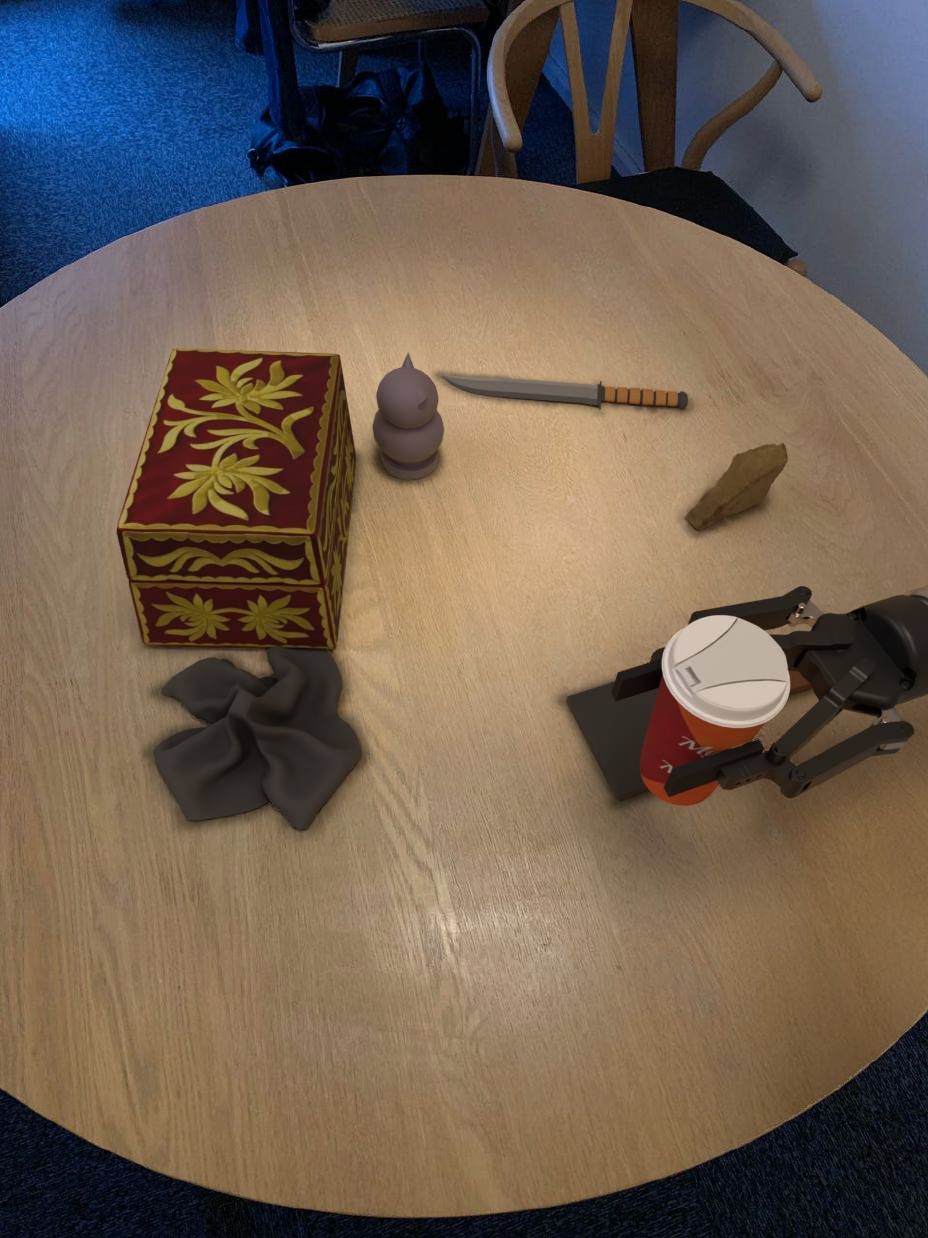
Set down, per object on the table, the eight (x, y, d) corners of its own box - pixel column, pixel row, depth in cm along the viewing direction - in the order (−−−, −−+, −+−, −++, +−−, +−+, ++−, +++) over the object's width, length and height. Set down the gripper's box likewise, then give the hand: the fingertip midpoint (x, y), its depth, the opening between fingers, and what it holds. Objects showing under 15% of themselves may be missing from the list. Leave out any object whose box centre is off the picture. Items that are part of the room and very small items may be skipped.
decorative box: (337, 650, 90) (325, 545, 78) (142, 646, 89) (100, 539, 77) (357, 455, 107) (349, 345, 95) (193, 450, 106) (165, 338, 94)
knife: (438, 392, 113) (442, 365, 116) (438, 400, 114) (442, 373, 117) (689, 411, 112) (688, 383, 114) (687, 419, 113) (685, 391, 116)
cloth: (362, 829, 80) (358, 797, 75) (139, 840, 78) (120, 807, 73) (361, 620, 93) (358, 581, 88) (171, 625, 91) (157, 586, 87)
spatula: (860, 716, 88) (865, 709, 88) (617, 801, 82) (620, 794, 81) (796, 628, 94) (800, 620, 94) (565, 700, 88) (567, 693, 87)
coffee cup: (659, 837, 68) (712, 734, 56) (604, 744, 72) (642, 631, 60) (755, 796, 70) (825, 689, 58) (696, 708, 74) (750, 592, 62)
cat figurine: (365, 441, 108) (360, 355, 99) (430, 428, 110) (432, 343, 100) (385, 492, 103) (382, 407, 94) (452, 478, 105) (456, 394, 96)
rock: (699, 538, 98) (793, 523, 98) (693, 457, 96) (789, 442, 96) (673, 519, 109) (758, 506, 108) (667, 445, 106) (754, 432, 106)
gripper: (984, 782, 66) (702, 890, 61) (824, 574, 77) (572, 649, 72) (1041, 728, 60) (734, 843, 55) (858, 511, 71) (587, 589, 65)
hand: (643, 733), depth 63 cm, fingers closed on coffee cup, 7 cm apart
